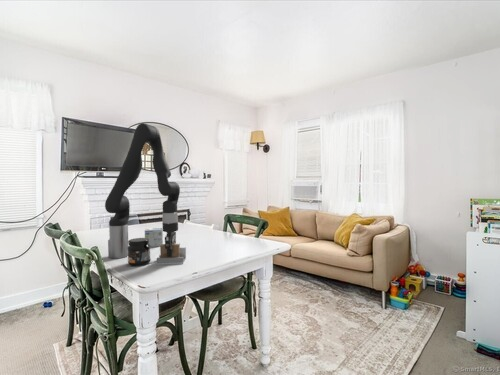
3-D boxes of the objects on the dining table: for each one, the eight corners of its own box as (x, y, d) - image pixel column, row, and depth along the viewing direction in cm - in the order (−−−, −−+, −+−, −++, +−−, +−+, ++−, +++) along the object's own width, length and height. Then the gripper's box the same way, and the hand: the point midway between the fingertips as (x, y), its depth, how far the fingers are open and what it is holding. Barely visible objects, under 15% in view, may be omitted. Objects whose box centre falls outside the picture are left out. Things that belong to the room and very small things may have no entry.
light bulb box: (162, 243, 178) (162, 227, 178) (163, 246, 172) (162, 229, 172) (145, 245, 175) (144, 228, 175) (144, 247, 169) (144, 230, 168)
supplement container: (124, 263, 137) (124, 239, 136) (145, 259, 144) (144, 236, 144) (133, 268, 129) (132, 243, 129) (154, 263, 137) (153, 239, 136)
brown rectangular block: (160, 261, 137) (160, 245, 137) (162, 259, 140) (161, 244, 139) (178, 260, 138) (178, 245, 137) (179, 259, 140) (179, 243, 140)
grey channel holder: (156, 264, 134) (155, 252, 134) (161, 259, 143) (160, 247, 143) (182, 263, 135) (182, 251, 135) (186, 258, 144) (185, 247, 144)
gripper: (166, 219, 144) (166, 251, 145) (158, 223, 130) (159, 259, 130) (180, 219, 145) (181, 251, 145) (174, 223, 130) (175, 258, 131)
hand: (171, 254), depth 138 cm, fingers open, 6 cm apart
